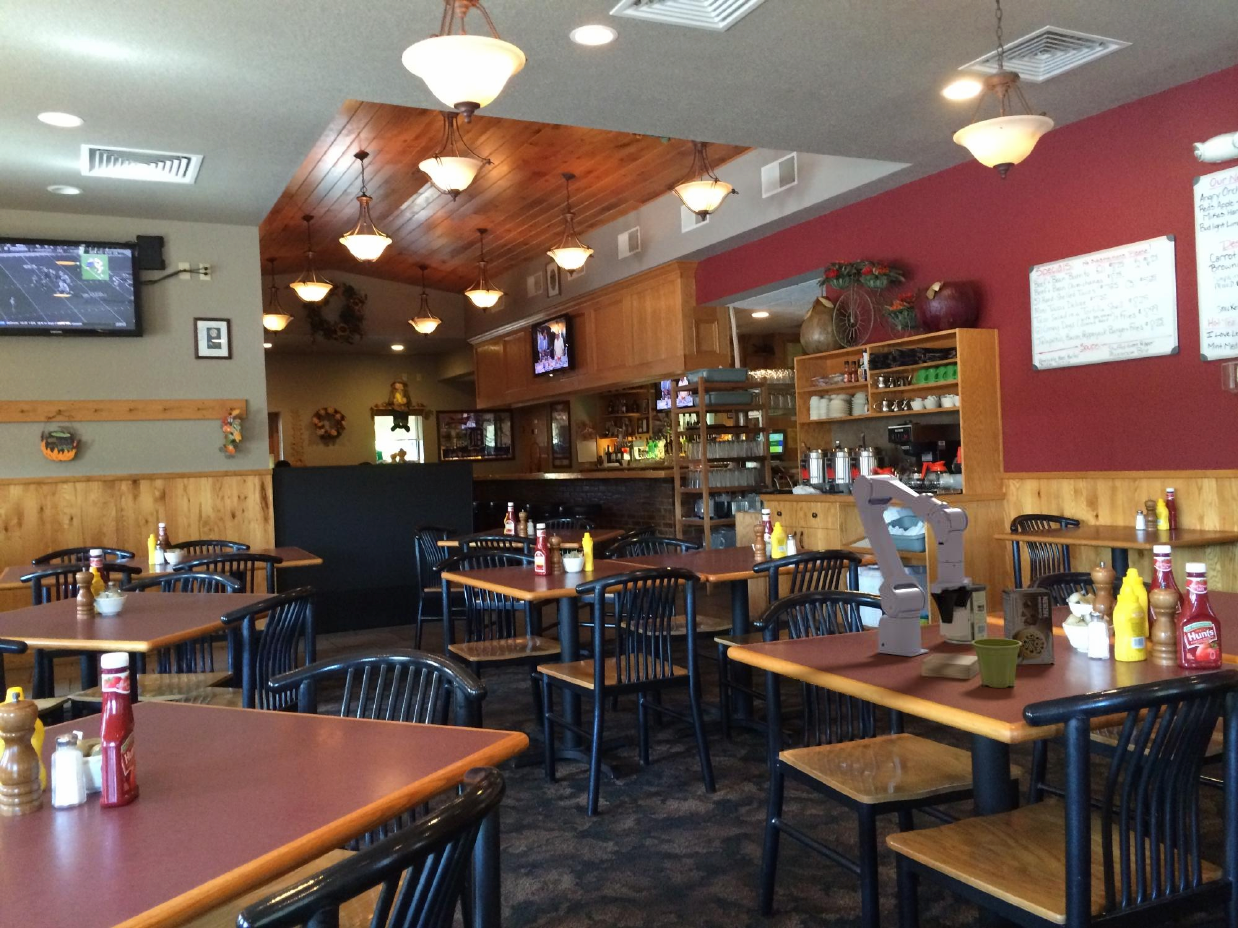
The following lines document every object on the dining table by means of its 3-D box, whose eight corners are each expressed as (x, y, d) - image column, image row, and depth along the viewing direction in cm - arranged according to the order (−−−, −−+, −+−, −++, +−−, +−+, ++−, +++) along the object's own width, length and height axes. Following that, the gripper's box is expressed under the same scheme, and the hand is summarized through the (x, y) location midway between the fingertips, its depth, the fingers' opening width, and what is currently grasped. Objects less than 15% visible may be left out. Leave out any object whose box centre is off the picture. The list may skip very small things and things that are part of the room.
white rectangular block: (940, 634, 224) (939, 607, 224) (950, 631, 227) (949, 605, 227) (958, 636, 221) (957, 609, 221) (968, 633, 224) (967, 607, 224)
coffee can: (950, 636, 258) (948, 582, 258) (992, 638, 253) (989, 583, 253) (940, 643, 249) (937, 586, 250) (982, 645, 244) (980, 588, 244)
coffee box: (1045, 658, 225) (1042, 587, 225) (1055, 664, 219) (1052, 590, 219) (1004, 659, 226) (1001, 588, 226) (1012, 664, 220) (1009, 591, 220)
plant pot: (1025, 690, 195) (1023, 646, 195) (974, 689, 198) (972, 645, 198) (1020, 680, 204) (1019, 638, 204) (972, 679, 207) (970, 637, 207)
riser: (921, 675, 212) (921, 661, 212) (934, 666, 221) (934, 653, 221) (970, 679, 207) (969, 664, 207) (981, 670, 215) (981, 656, 215)
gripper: (950, 565, 216) (952, 627, 216) (983, 559, 226) (985, 619, 226) (921, 563, 222) (923, 624, 222) (954, 558, 231) (957, 616, 231)
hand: (952, 621), depth 224 cm, fingers closed on white rectangular block, 4 cm apart
